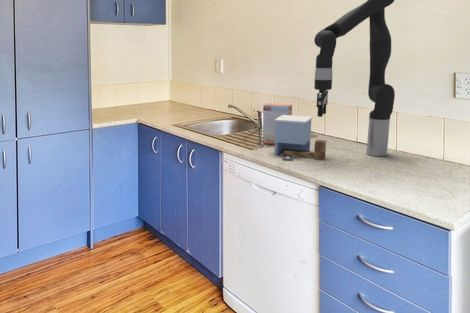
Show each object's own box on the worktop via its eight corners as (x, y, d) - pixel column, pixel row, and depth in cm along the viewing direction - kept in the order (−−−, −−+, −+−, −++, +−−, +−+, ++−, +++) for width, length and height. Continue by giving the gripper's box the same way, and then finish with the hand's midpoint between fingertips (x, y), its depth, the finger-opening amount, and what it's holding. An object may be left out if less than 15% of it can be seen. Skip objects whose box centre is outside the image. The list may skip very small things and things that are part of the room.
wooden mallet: (325, 157, 199) (326, 140, 197) (323, 159, 195) (324, 142, 193) (284, 153, 205) (285, 137, 203) (282, 156, 201) (282, 139, 199)
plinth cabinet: (310, 150, 212) (312, 116, 208) (304, 157, 198) (306, 121, 194) (281, 148, 217) (282, 114, 213) (273, 154, 204) (274, 119, 199)
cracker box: (291, 144, 224) (292, 104, 219) (286, 146, 219) (288, 105, 214) (267, 141, 231) (268, 102, 226) (262, 143, 226) (263, 104, 221)
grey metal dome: (294, 159, 197) (294, 155, 196) (291, 161, 192) (291, 158, 192) (283, 158, 199) (284, 154, 198) (280, 160, 194) (280, 157, 194)
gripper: (329, 79, 181) (327, 118, 185) (334, 77, 193) (332, 113, 198) (311, 79, 183) (310, 117, 187) (317, 77, 196) (316, 112, 200)
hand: (321, 115), depth 192 cm, fingers open, 8 cm apart
